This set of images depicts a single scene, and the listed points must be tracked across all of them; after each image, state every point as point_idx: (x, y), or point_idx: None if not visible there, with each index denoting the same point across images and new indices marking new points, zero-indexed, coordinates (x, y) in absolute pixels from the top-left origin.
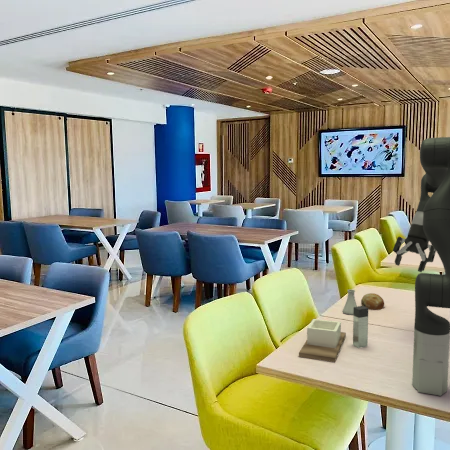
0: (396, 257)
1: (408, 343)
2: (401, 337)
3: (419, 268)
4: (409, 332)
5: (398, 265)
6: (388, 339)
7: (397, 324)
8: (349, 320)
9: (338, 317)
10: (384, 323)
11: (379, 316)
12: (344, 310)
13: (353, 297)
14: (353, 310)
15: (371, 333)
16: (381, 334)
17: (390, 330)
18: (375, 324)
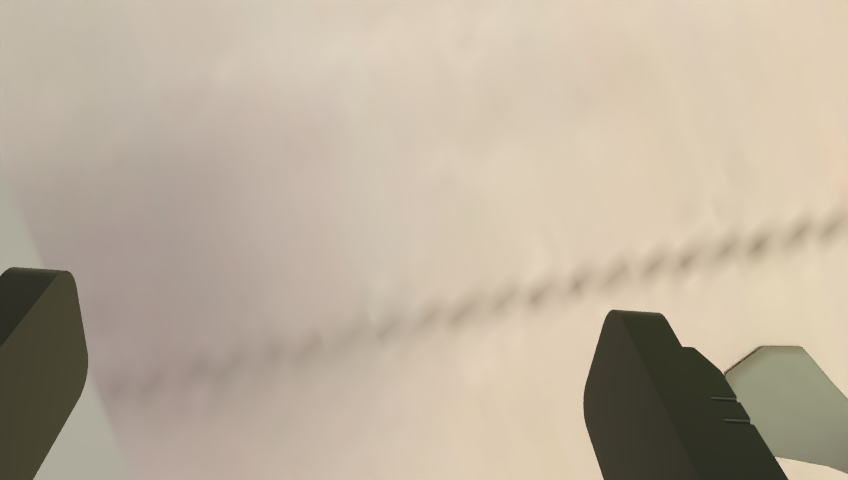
0: (753, 451)
1: (243, 99)
2: (326, 178)
3: (10, 295)
4: (322, 306)
5: (588, 378)
6: (379, 83)
7: (445, 396)
8: (718, 252)
9: (794, 256)
10: (519, 355)
11: (596, 458)
12: (808, 358)
13: (838, 440)
14: (760, 381)
15: (512, 116)
16: (453, 142)
17: (436, 256)
18: (558, 296)
